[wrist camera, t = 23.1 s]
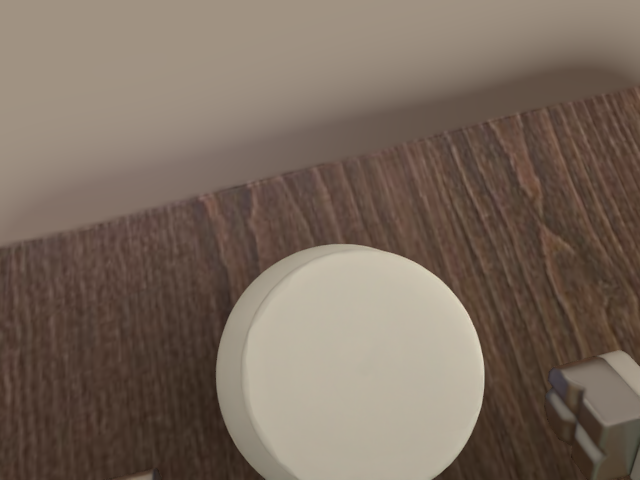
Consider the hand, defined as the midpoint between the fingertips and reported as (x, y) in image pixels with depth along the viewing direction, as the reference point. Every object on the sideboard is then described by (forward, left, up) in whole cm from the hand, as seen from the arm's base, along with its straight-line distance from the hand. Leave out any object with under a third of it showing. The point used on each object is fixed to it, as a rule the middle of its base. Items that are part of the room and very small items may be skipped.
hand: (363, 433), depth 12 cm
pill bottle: (0, +1, -7) cm, 7 cm away
